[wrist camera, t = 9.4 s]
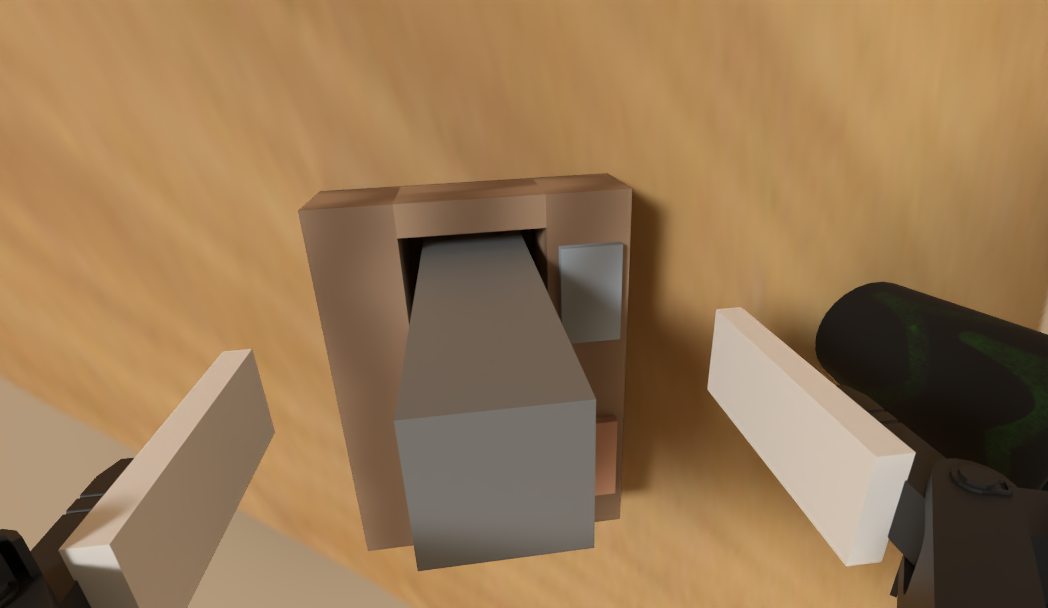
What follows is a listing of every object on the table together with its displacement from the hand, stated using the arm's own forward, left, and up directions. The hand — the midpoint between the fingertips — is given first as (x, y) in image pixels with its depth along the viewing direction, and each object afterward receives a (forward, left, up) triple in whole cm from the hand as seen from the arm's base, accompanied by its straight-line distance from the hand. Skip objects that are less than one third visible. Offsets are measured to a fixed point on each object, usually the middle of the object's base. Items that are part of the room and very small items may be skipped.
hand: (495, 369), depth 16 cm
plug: (0, 0, -9) cm, 9 cm away
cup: (-20, +5, -10) cm, 23 cm away
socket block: (0, +4, -9) cm, 10 cm away
